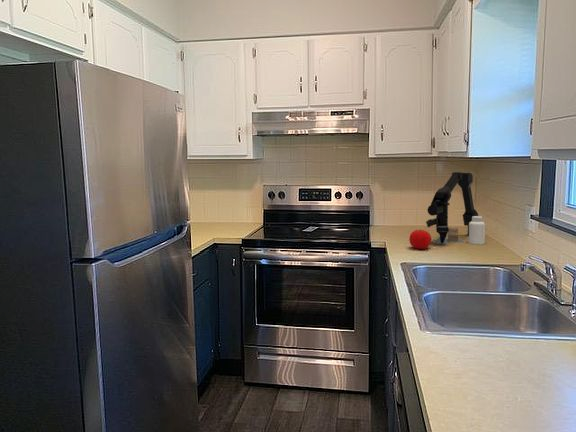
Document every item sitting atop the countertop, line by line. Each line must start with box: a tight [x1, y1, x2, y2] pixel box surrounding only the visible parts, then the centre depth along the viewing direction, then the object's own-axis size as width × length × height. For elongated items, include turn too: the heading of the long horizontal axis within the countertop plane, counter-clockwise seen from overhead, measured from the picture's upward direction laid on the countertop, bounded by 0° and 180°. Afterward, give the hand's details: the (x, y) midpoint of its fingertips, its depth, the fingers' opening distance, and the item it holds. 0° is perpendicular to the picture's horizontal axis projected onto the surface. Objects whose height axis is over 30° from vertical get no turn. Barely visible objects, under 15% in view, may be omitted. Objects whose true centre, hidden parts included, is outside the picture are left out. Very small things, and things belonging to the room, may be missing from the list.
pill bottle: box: [468, 215, 486, 245], centre depth 253 cm, size 8×8×15 cm
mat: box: [447, 238, 464, 243], centre depth 263 cm, size 11×12×1 cm
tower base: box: [447, 234, 459, 241], centre depth 262 cm, size 5×5×4 cm
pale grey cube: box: [436, 236, 448, 245], centre depth 256 cm, size 5×5×4 cm
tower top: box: [447, 226, 459, 236], centre depth 262 cm, size 5×5×4 cm
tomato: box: [408, 229, 432, 250], centre depth 244 cm, size 11×13×10 cm
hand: (441, 242), depth 256 cm, fingers open, 7 cm apart
